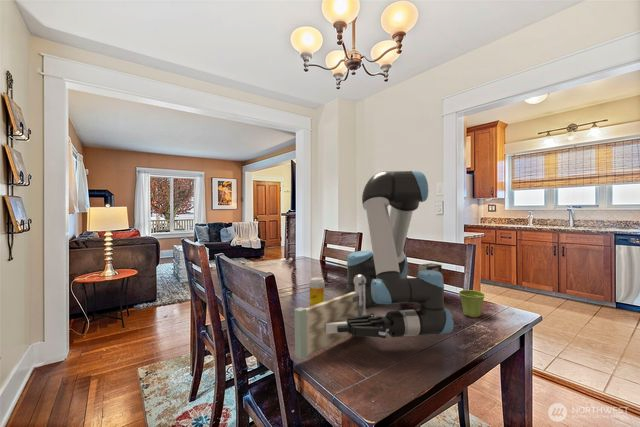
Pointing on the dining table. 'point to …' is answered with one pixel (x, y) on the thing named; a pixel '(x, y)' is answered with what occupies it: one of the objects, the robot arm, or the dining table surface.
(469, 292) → the plant pot
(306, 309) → the gate panel
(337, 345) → the dining table surface
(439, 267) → the coffee box
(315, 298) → the orange and white cylinder
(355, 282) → the gate post
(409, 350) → the dining table surface
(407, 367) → the dining table surface
